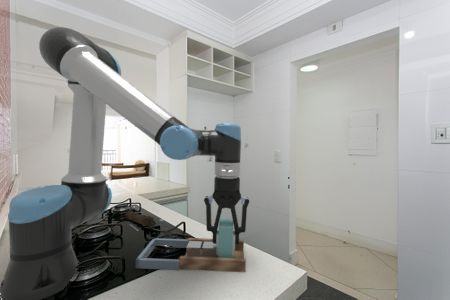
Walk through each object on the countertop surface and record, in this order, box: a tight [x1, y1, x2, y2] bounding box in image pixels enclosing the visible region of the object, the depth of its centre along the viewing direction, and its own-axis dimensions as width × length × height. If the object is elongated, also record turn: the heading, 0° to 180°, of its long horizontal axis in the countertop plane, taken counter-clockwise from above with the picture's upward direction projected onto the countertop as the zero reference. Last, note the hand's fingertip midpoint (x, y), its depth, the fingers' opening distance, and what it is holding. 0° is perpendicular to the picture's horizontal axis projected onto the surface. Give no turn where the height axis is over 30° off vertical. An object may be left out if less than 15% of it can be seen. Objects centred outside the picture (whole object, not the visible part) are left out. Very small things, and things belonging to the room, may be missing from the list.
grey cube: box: [185, 241, 202, 257], centre depth 64 cm, size 4×4×4 cm
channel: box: [178, 237, 247, 273], centre depth 64 cm, size 18×12×4 cm
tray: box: [135, 237, 188, 271], centre depth 64 cm, size 12×13×4 cm
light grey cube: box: [202, 242, 217, 258], centre depth 64 cm, size 4×4×4 cm
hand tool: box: [124, 210, 156, 229], centre depth 92 cm, size 19×4×5 cm, turn 51°
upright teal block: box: [218, 218, 234, 258], centre depth 63 cm, size 4×7×10 cm, turn 178°
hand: (225, 253), depth 64 cm, fingers closed on upright teal block, 4 cm apart
